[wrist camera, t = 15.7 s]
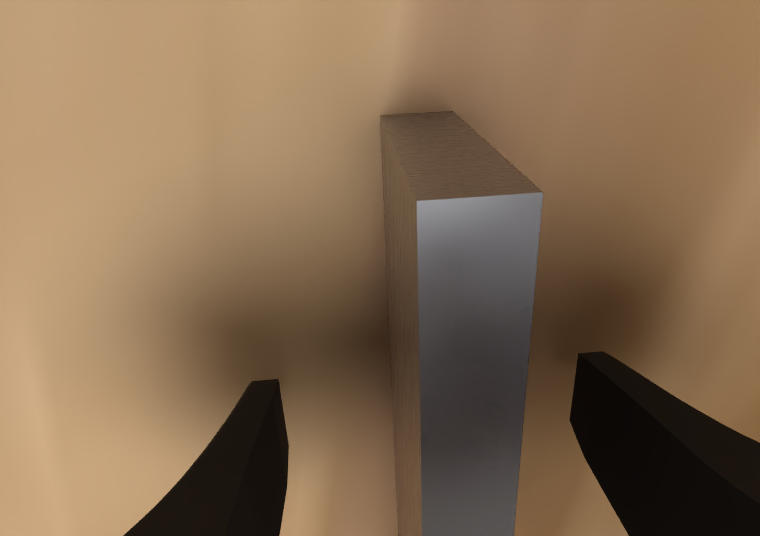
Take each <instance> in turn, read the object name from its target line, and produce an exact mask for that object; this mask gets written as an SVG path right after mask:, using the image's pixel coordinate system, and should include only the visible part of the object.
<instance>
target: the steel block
mask: <svg viewBox="0 0 760 536" xmlns="http://www.w3.org/2000/svg"><path fill="white" fill-rule="evenodd" d="M380 126H381V149H382V172H383V195H384V218H385V241H386V264H387V287H388V310H389V333H390V356H391V379H392V402H393V425H394V448H395V471H396V493H397V516H398V536H514V525H515V514H516V502H517V490H518V479H519V467H520V456H521V444H522V432H523V421H524V409H525V397H526V386H527V374H528V363H529V351H530V339H531V328H532V316H533V304H534V293H535V281H536V270H537V258H538V246H539V235H540V223H541V211H542V200H543V192H542V191H541V190H540V189H539V188H538V187H537V186H536V185H534V184H533V183H532V182H531V181H530V180H529V179H528V178H527V177H526V176H524V175H523V174H522V173H521V172H520V171H519V170H518V169H517V168H516V167H514V166H513V165H512V164H511V163H510V162H509V161H508V160H507V159H506V158H504V157H503V156H502V155H501V154H500V153H499V152H498V151H497V150H496V149H494V148H493V147H492V146H491V145H490V144H489V143H488V142H487V141H486V140H484V139H483V138H482V137H481V136H480V135H479V134H478V133H477V132H476V131H474V130H473V129H472V128H471V127H470V126H469V125H468V124H467V123H466V122H464V121H463V120H462V119H461V118H460V117H459V116H458V115H457V114H456V113H454V112H453V111H448V112H432V113H415V114H398V115H382V116H380Z"/></svg>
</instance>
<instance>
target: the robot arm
mask: <svg viewBox="0 0 760 536" xmlns="http://www.w3.org/2000/svg"><path fill="white" fill-rule="evenodd" d="M570 422H571V425H572V427H573V430H574V433H575V435H576V438H577V440H578V443H579V445H580V448H581V450H582V452H583V455H584V457H585V459H586V461H587V463H588V465H589V466H590V468H591V470H592V472H593V473H594V475H595V477H596V479H597V481H598V482H599V484H600V486H601V488H602V489H603V491H604V493H605V495H606V496H607V498H608V500H609V502H610V503H611V505H612V507H613V509H614V510H615V512H616V514H617V516H618V517H619V519H620V521H621V523H622V524H623V526H624V528H625V530H626V531H627V533H628V535H629V536H760V443H759V442H757V441H755V440H753V439H751V438H749V437H746V436H744V435H742V434H740V433H738V432H736V431H734V430H733V429H731V428H729V427H727V426H725V425H723V424H721V423H719V422H718V421H716V420H714V419H712V418H711V417H709V416H707V415H705V414H703V413H702V412H700V411H698V410H696V409H695V408H693V407H691V406H690V405H688V404H686V403H685V402H683V401H681V400H680V399H678V398H676V397H675V396H673V395H672V394H670V393H668V392H667V391H665V390H664V389H662V388H660V387H659V386H657V385H656V384H654V383H653V382H651V381H650V380H648V379H646V378H645V377H643V376H642V375H640V374H639V373H637V372H636V371H634V370H633V369H631V368H629V367H628V366H626V365H625V364H623V363H622V362H620V361H618V360H617V359H615V358H614V357H612V356H610V355H609V354H607V353H605V352H603V351H602V352H590V353H578V360H577V368H576V375H575V383H574V391H573V398H572V406H571V414H570ZM288 450H289V445H288V438H287V432H286V425H285V419H284V412H283V406H282V399H281V393H280V386H279V380H278V379H273V380H262V381H252V382H251V383H250V384H249V385H248V387H247V388H246V390H245V392H244V393H243V395H242V397H241V398H240V400H239V401H238V403H237V404H236V406H235V408H234V409H233V411H232V412H231V414H230V415H229V417H228V418H227V420H226V421H225V422H224V424H223V425H222V427H221V428H220V429H219V431H218V432H217V434H216V435H215V436H214V438H213V439H212V441H211V442H210V443H209V445H208V446H207V447H206V449H205V450H204V451H203V452H202V453H201V455H200V456H199V457H198V458H197V460H196V461H195V462H194V463H193V465H192V466H191V467H190V468H189V470H188V471H187V472H186V473H185V474H184V476H183V477H182V478H181V479H180V480H179V481H178V482H177V484H176V485H175V486H174V487H173V488H172V489H171V490H170V491H169V492H168V493H167V494H166V495H165V496H164V497H163V499H162V500H161V501H160V502H159V503H158V504H157V505H156V506H155V507H154V508H153V509H152V510H151V511H150V512H149V513H148V514H146V515H145V516H144V517H143V518H142V519H141V520H140V521H139V522H138V523H137V524H136V525H135V526H133V527H132V528H131V529H130V530H129V531H128V532H127V533H126V534H125V535H124V536H279V534H280V528H281V522H282V516H283V509H284V503H285V496H286V490H287V476H288Z"/></svg>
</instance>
